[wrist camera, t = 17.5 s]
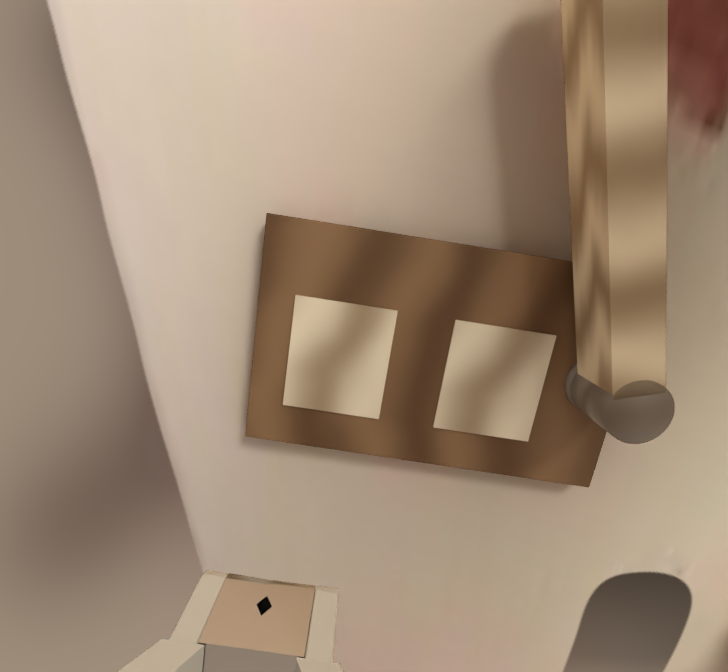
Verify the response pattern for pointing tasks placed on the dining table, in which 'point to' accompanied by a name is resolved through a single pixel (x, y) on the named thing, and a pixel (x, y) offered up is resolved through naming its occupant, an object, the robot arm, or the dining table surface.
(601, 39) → the swing bar
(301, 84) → the dining table surface
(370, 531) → the dining table surface
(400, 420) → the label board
